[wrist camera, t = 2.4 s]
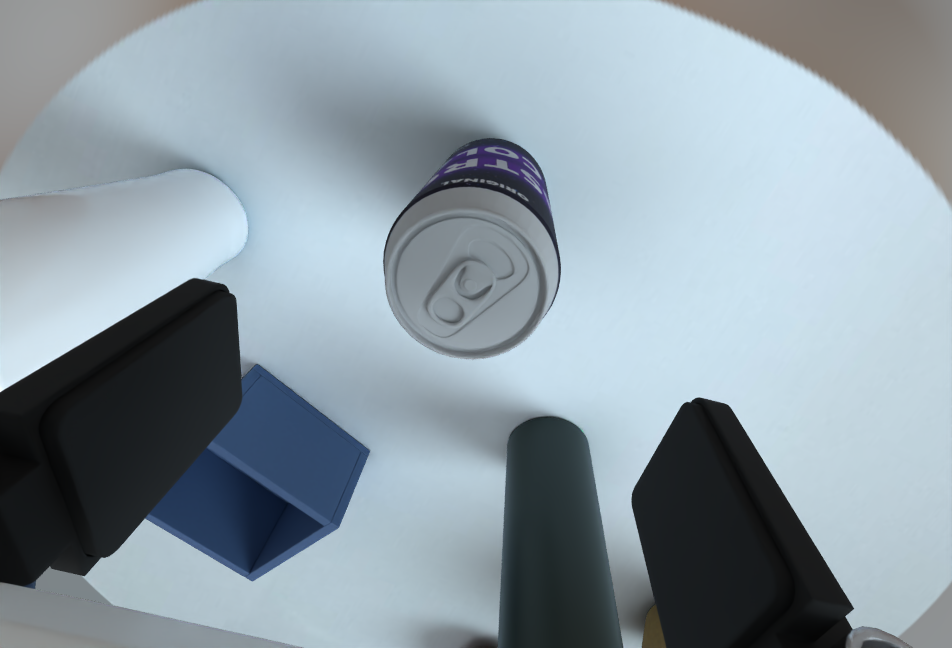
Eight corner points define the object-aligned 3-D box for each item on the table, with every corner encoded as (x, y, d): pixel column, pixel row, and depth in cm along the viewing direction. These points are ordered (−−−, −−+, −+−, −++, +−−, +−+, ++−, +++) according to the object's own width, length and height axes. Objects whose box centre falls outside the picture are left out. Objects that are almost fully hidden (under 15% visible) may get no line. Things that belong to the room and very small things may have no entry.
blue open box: (186, 433, 35) (119, 504, 29) (257, 363, 31) (196, 430, 25) (293, 505, 38) (252, 582, 32) (370, 451, 34) (339, 528, 28)
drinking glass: (221, 289, 28) (-40, 478, 15) (126, 202, 26) (-280, 337, 13) (289, 226, 26) (45, 388, 13) (190, 124, 23) (-233, 193, 10)
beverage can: (569, 186, 23) (606, 280, 13) (499, 264, 25) (481, 398, 15) (483, 110, 22) (444, 147, 11) (418, 201, 24) (337, 300, 14)
